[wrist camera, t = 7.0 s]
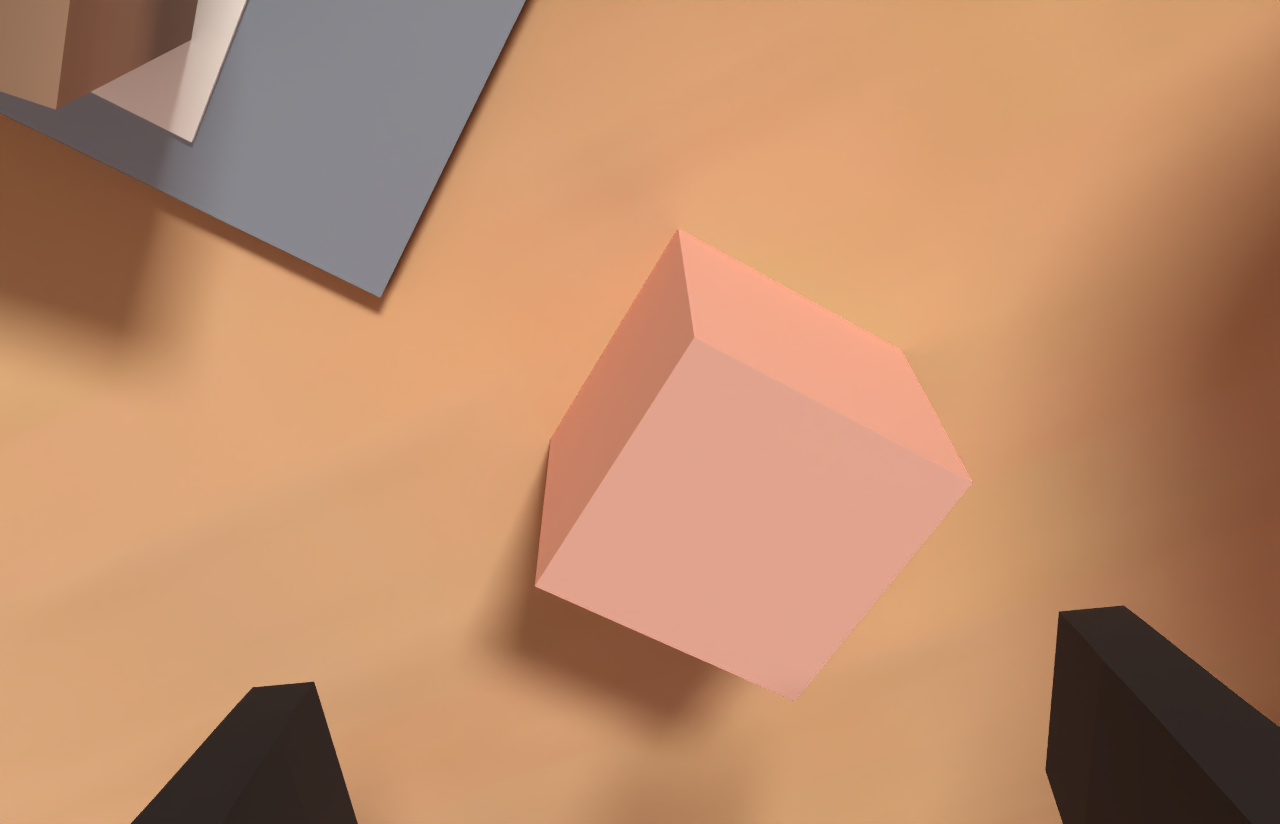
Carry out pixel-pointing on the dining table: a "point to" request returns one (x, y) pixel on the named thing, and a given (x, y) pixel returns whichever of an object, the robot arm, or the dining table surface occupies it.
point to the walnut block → (83, 43)
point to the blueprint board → (298, 119)
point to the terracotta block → (741, 472)
